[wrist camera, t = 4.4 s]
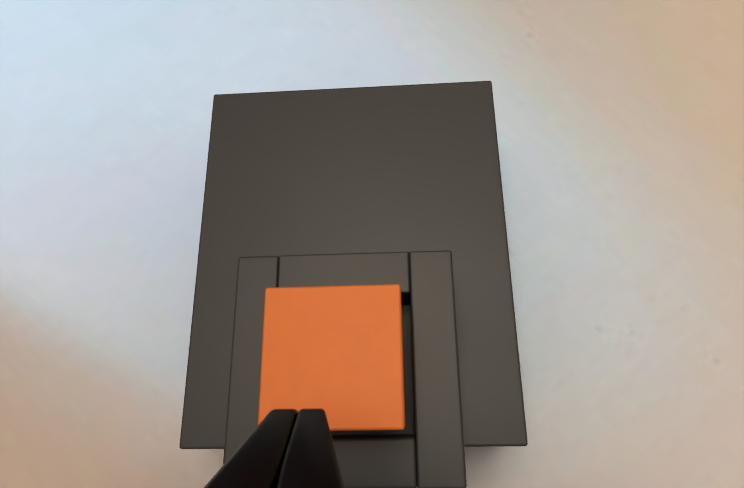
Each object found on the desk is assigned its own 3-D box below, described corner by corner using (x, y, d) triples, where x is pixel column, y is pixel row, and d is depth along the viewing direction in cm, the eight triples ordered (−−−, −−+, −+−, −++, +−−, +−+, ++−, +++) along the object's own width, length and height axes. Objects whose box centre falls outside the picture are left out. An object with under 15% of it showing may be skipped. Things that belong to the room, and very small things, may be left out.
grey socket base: (504, 464, 18) (549, 489, 12) (225, 466, 18) (144, 490, 13) (476, 140, 22) (500, 45, 16) (247, 150, 22) (193, 62, 17)
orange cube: (405, 426, 13) (404, 430, 11) (283, 427, 13) (256, 431, 11) (401, 304, 14) (400, 283, 12) (288, 307, 14) (264, 287, 12)
